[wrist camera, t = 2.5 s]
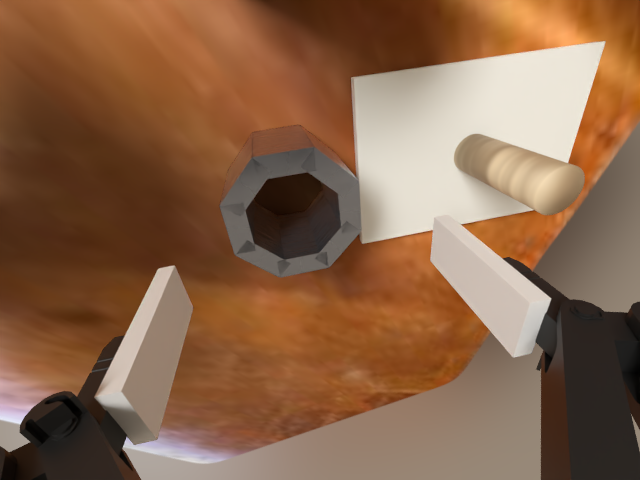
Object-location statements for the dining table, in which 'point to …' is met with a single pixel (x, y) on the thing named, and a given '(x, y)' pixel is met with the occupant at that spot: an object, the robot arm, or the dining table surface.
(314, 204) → the ring
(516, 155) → the post
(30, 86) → the dining table surface
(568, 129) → the base board
